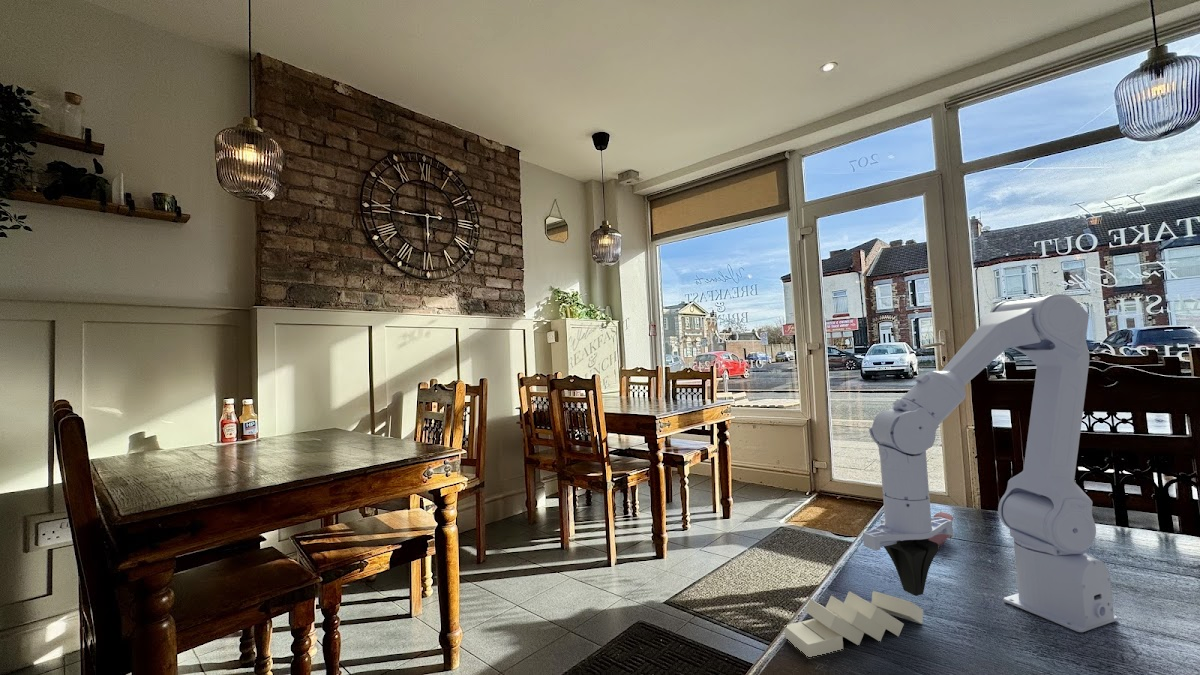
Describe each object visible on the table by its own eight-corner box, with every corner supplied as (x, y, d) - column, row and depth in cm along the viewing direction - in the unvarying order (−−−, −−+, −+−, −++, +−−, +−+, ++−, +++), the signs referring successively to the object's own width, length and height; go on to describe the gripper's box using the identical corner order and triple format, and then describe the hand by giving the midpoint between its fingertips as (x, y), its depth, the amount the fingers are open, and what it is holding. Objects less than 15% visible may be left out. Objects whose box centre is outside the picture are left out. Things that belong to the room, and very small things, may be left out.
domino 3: (885, 628, 66) (857, 611, 65) (880, 642, 66) (851, 624, 65) (857, 611, 71) (831, 595, 70) (852, 623, 70) (825, 607, 69)
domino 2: (864, 632, 66) (835, 615, 65) (858, 645, 65) (829, 628, 64) (837, 614, 70) (810, 598, 69) (832, 627, 70) (804, 611, 69)
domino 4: (904, 623, 67) (876, 606, 66) (898, 636, 67) (870, 619, 66) (875, 607, 72) (849, 590, 71) (869, 619, 71) (843, 603, 70)
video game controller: (940, 561, 92) (958, 529, 91) (913, 545, 95) (930, 514, 93) (943, 543, 100) (960, 514, 99) (918, 529, 103) (934, 500, 101)
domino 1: (842, 636, 65) (808, 644, 63) (843, 650, 65) (809, 659, 63) (816, 618, 69) (784, 625, 68) (817, 631, 69) (785, 639, 68)
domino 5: (923, 610, 70) (911, 601, 67) (922, 624, 69) (909, 616, 67) (885, 599, 74) (872, 590, 71) (884, 612, 73) (871, 604, 70)
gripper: (918, 482, 78) (925, 571, 78) (843, 495, 74) (850, 590, 73) (963, 493, 71) (971, 591, 71) (884, 508, 67) (892, 612, 66)
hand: (913, 592), depth 71 cm, fingers closed
